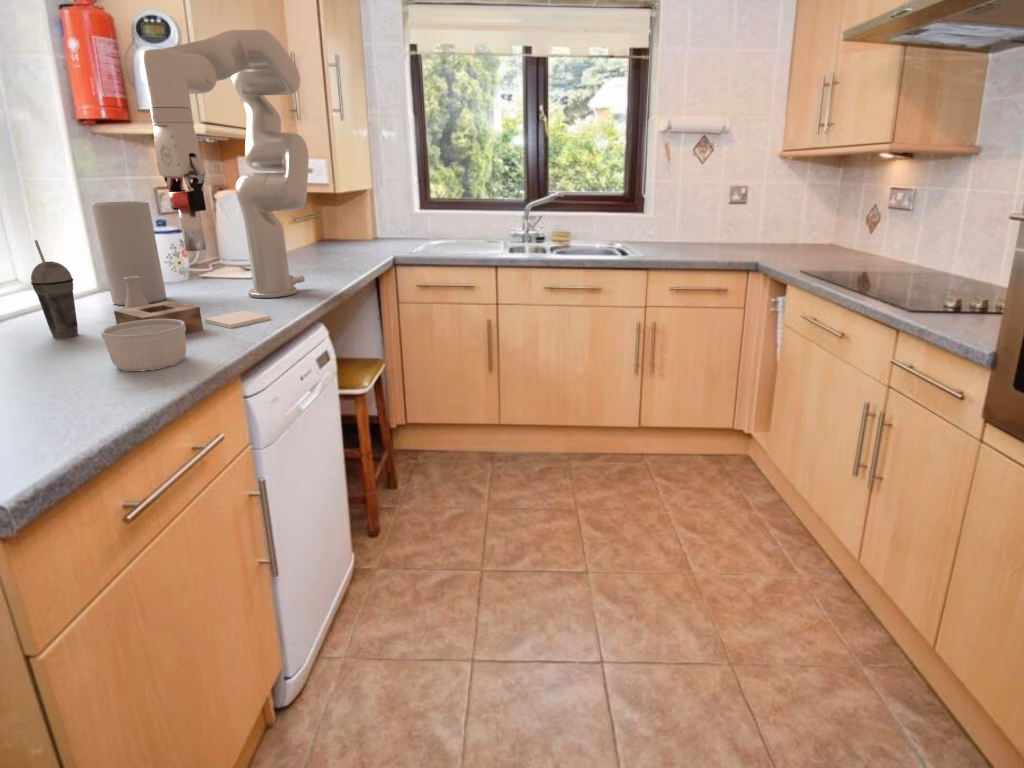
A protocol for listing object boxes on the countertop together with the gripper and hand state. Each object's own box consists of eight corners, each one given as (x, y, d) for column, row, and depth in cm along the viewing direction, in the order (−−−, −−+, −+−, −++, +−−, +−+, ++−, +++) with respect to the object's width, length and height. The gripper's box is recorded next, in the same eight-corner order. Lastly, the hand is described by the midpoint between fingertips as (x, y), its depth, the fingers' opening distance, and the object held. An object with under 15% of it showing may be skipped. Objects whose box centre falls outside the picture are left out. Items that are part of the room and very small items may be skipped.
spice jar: (174, 250, 138) (162, 192, 134) (202, 246, 143) (192, 190, 139) (189, 252, 135) (178, 193, 130) (218, 249, 139) (208, 191, 135)
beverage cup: (93, 333, 137) (71, 238, 131) (56, 342, 131) (31, 242, 125) (74, 329, 141) (52, 236, 134) (38, 337, 135) (12, 240, 128)
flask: (149, 315, 154) (141, 273, 151) (163, 319, 150) (155, 276, 146) (117, 321, 149) (107, 277, 145) (130, 325, 144) (120, 281, 141)
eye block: (173, 322, 147) (169, 300, 145) (203, 329, 140) (199, 307, 138) (118, 333, 137) (113, 310, 136) (147, 342, 131) (142, 318, 129)
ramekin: (155, 350, 125) (148, 315, 123) (207, 357, 121) (201, 321, 119) (92, 370, 114) (83, 332, 111) (146, 378, 109) (138, 338, 107)
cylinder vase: (108, 308, 162) (86, 205, 154) (116, 298, 173) (96, 202, 164) (164, 303, 166) (145, 203, 158) (168, 294, 177) (151, 200, 169)
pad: (244, 313, 154) (243, 310, 154) (270, 319, 149) (269, 315, 148) (205, 322, 146) (204, 318, 146) (230, 328, 141) (230, 324, 141)
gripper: (133, 119, 132) (151, 209, 138) (176, 116, 122) (193, 213, 128) (169, 120, 137) (185, 206, 144) (213, 117, 128) (228, 210, 134)
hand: (189, 209), depth 136 cm, fingers closed on spice jar, 6 cm apart
